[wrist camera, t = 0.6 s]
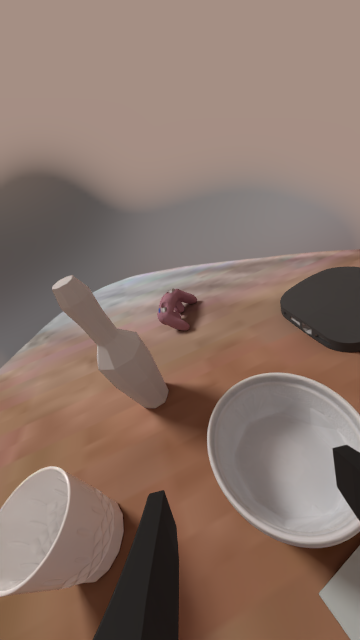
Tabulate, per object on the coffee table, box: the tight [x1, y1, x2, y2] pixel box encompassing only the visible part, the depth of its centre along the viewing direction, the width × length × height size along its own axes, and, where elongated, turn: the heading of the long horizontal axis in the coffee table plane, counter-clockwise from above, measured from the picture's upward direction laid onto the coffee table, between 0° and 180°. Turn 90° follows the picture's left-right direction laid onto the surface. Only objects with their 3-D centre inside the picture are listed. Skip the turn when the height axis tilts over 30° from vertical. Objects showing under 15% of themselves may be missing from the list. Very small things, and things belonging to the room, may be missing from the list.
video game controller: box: [157, 289, 197, 330], centre depth 47 cm, size 10×5×7 cm, turn 166°
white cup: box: [0, 466, 124, 597], centre depth 21 cm, size 8×8×10 cm
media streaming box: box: [280, 267, 360, 352], centre depth 34 cm, size 15×15×3 cm
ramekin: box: [207, 373, 360, 548], centre depth 21 cm, size 13×13×7 cm
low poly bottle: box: [52, 275, 169, 408], centre depth 29 cm, size 6×6×22 cm
